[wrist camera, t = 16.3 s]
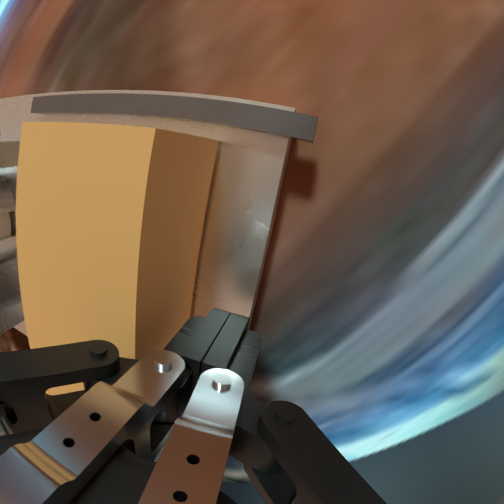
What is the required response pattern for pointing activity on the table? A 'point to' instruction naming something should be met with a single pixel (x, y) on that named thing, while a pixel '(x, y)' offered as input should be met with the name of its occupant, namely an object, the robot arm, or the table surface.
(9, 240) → the air filter
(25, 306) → the block
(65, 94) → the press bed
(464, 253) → the table surface
